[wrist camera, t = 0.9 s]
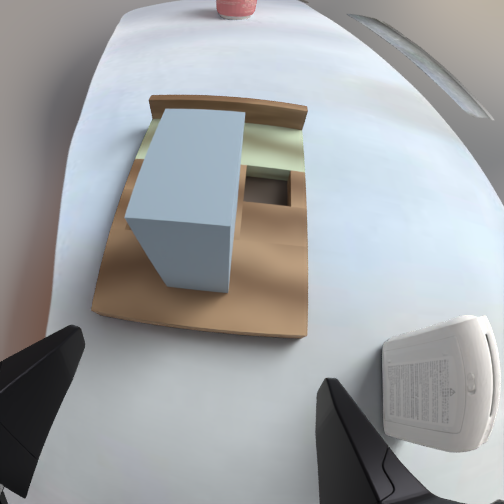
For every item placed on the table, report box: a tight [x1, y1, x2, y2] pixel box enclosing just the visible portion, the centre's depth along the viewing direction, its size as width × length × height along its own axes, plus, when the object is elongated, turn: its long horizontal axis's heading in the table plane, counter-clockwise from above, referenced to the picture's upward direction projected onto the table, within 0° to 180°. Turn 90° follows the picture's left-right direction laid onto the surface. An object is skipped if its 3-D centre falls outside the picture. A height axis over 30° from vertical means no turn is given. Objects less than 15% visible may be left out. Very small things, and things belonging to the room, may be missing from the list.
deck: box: [91, 95, 308, 338], centre depth 25 cm, size 24×18×5 cm
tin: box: [124, 109, 245, 293], centre depth 19 cm, size 8×5×11 cm, turn 176°
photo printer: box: [382, 315, 501, 452], centre depth 16 cm, size 10×4×12 cm, turn 1°
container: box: [216, 0, 257, 20], centre depth 48 cm, size 10×10×8 cm
